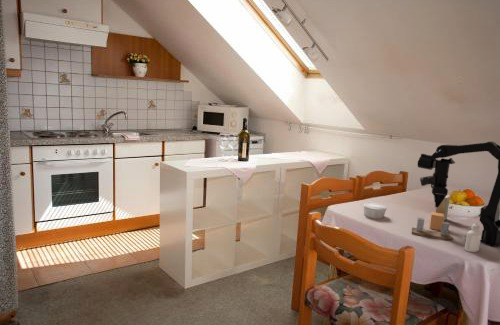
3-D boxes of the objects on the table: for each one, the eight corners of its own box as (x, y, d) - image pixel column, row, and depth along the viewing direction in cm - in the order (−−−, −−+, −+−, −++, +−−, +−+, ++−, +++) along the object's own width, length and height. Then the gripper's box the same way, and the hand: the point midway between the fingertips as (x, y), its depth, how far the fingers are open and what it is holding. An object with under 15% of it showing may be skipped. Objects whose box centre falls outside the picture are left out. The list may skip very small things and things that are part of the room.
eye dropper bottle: (480, 253, 161) (485, 224, 159) (465, 251, 162) (470, 222, 160) (477, 249, 165) (481, 221, 163) (462, 247, 166) (466, 219, 164)
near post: (446, 234, 178) (448, 222, 177) (447, 236, 176) (449, 224, 175) (440, 233, 179) (442, 221, 178) (440, 235, 177) (442, 223, 176)
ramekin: (371, 220, 196) (373, 209, 195) (357, 213, 206) (358, 203, 205) (390, 218, 200) (391, 208, 199) (375, 212, 210) (376, 202, 209)
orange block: (441, 227, 192) (443, 213, 190) (441, 230, 187) (444, 216, 186) (429, 225, 193) (431, 211, 192) (429, 228, 189) (431, 214, 188)
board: (450, 236, 180) (451, 234, 179) (451, 241, 173) (452, 239, 173) (412, 229, 185) (412, 227, 185) (411, 234, 179) (411, 231, 179)
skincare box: (437, 216, 208) (441, 193, 206) (447, 218, 206) (450, 195, 203) (434, 219, 203) (437, 195, 201) (443, 221, 201) (447, 197, 199)
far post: (422, 230, 182) (424, 218, 181) (422, 232, 179) (424, 220, 178) (416, 229, 183) (417, 217, 182) (416, 231, 180) (417, 219, 179)
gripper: (422, 166, 197) (417, 197, 199) (422, 172, 180) (417, 206, 182) (447, 169, 193) (442, 201, 195) (450, 176, 176) (444, 211, 178)
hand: (436, 204), depth 188 cm, fingers open, 9 cm apart
